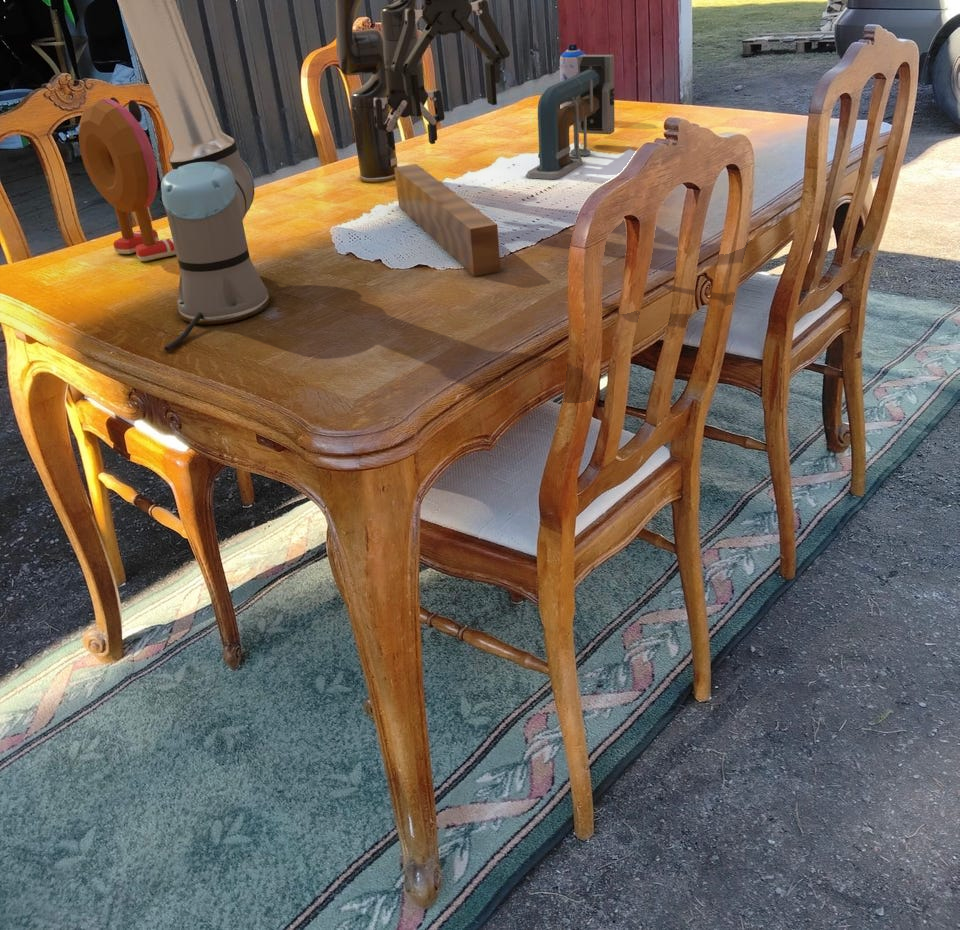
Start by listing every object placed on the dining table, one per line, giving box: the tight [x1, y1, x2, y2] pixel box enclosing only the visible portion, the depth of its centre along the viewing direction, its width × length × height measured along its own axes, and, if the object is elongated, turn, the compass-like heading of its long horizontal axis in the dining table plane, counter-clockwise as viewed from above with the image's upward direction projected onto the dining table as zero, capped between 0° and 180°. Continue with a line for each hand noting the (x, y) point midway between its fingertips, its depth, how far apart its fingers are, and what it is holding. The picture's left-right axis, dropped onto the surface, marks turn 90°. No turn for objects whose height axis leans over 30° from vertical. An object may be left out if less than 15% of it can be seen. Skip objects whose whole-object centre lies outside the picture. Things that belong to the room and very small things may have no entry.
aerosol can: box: [559, 43, 586, 109], centre depth 273 cm, size 8×8×20 cm
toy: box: [78, 96, 177, 262], centre depth 190 cm, size 21×10×30 cm, turn 47°
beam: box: [394, 163, 501, 277], centre depth 191 cm, size 51×5×9 cm, turn 19°
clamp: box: [525, 54, 615, 180], centre depth 232 cm, size 35×9×21 cm, turn 151°
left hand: (455, 109), depth 165 cm, fingers open, 13 cm apart
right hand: (412, 146), depth 200 cm, fingers open, 8 cm apart
